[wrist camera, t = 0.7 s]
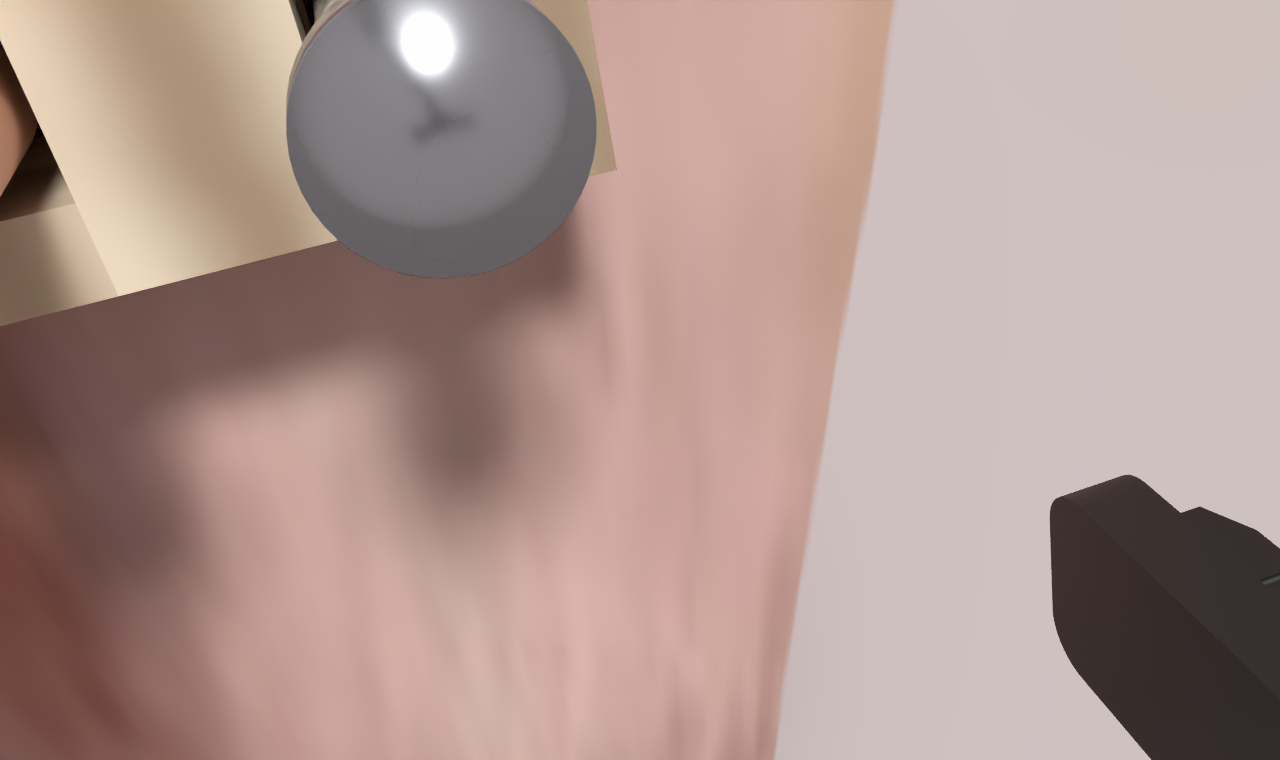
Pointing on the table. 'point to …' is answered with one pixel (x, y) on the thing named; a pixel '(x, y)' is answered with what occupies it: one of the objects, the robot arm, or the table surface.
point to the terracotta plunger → (13, 121)
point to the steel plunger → (439, 130)
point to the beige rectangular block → (167, 143)
